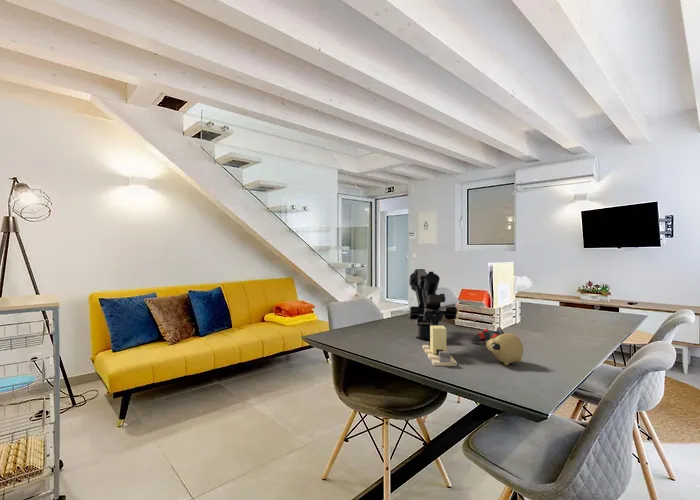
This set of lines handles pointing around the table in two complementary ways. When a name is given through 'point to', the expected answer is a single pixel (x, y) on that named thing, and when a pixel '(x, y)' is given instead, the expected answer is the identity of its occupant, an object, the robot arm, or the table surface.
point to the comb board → (435, 356)
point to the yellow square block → (437, 338)
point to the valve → (486, 335)
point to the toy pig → (506, 348)
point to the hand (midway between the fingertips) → (436, 330)
